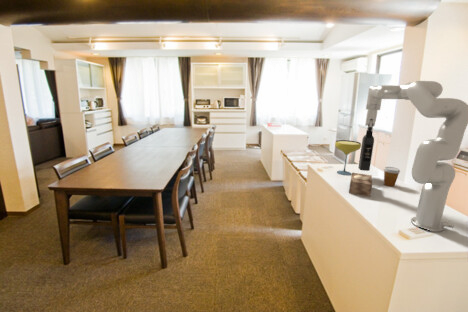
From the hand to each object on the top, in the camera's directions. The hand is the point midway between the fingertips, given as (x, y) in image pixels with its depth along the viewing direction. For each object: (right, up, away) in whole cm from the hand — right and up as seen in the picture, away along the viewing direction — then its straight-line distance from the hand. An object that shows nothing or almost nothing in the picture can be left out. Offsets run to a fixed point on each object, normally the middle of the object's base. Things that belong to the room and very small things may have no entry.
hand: (368, 136), depth 154 cm
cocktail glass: (+4, -26, +43) cm, 50 cm away
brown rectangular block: (-1, -34, +9) cm, 36 cm away
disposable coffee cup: (+24, -33, +19) cm, 45 cm away
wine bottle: (0, -21, +5) cm, 22 cm away
